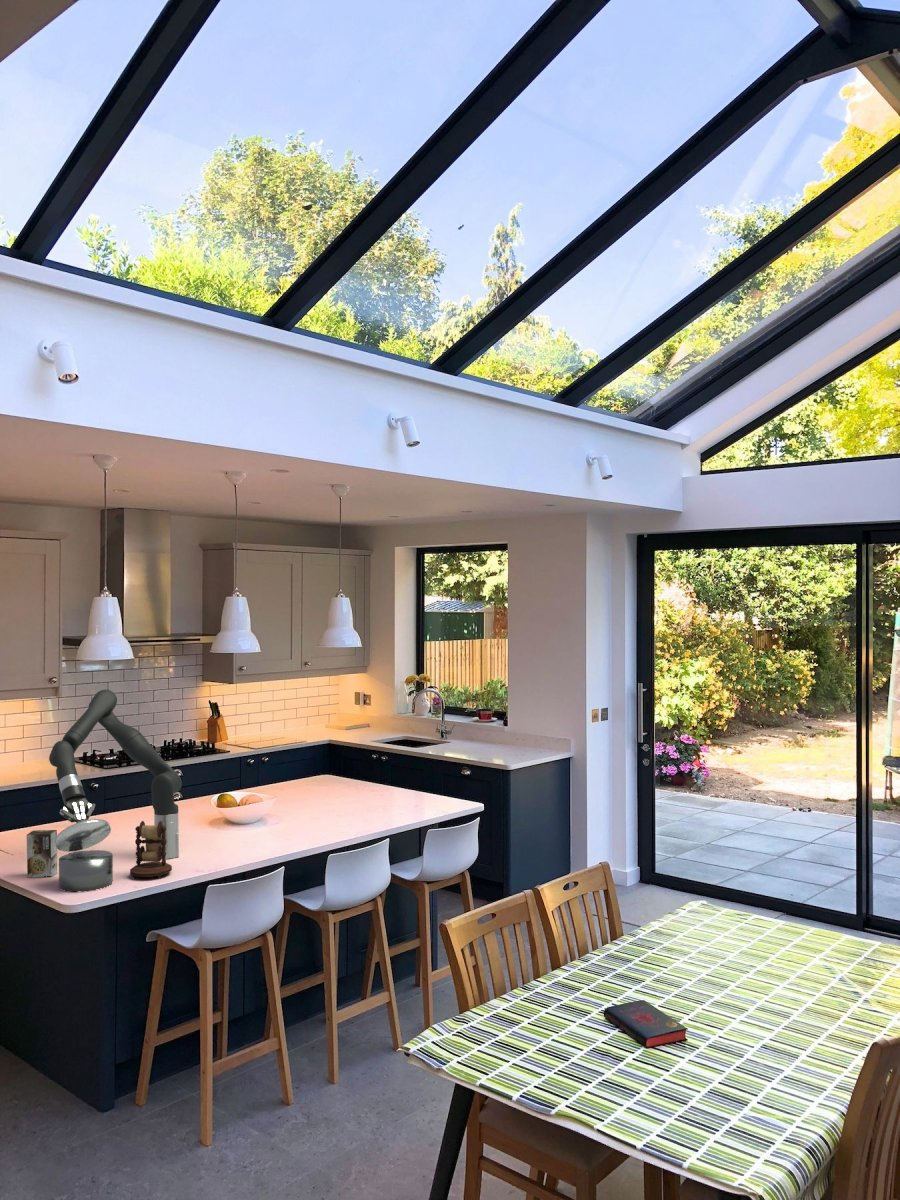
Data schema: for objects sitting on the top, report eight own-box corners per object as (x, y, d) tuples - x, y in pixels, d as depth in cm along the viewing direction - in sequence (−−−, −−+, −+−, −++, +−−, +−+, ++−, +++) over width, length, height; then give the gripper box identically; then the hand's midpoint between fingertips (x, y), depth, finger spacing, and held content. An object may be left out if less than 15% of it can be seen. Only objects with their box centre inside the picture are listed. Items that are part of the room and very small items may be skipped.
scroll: (177, 869, 361) (176, 816, 361) (164, 880, 346) (163, 825, 346) (138, 869, 362) (138, 816, 362) (123, 880, 347) (123, 825, 347)
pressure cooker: (50, 883, 344) (50, 855, 345) (100, 873, 356) (100, 847, 356) (69, 895, 330) (69, 866, 330) (120, 885, 341) (120, 857, 341)
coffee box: (58, 872, 359) (57, 829, 359) (51, 877, 352) (51, 833, 352) (33, 873, 358) (33, 829, 358) (26, 877, 352) (26, 833, 352)
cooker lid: (49, 855, 344) (48, 848, 345) (102, 846, 356) (100, 839, 357) (63, 827, 333) (61, 820, 334) (117, 819, 345) (115, 812, 346)
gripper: (87, 792, 359) (99, 832, 350) (51, 798, 350) (62, 839, 341) (92, 781, 354) (104, 820, 345) (55, 786, 346) (67, 827, 337)
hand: (83, 829), depth 343 cm, fingers closed
